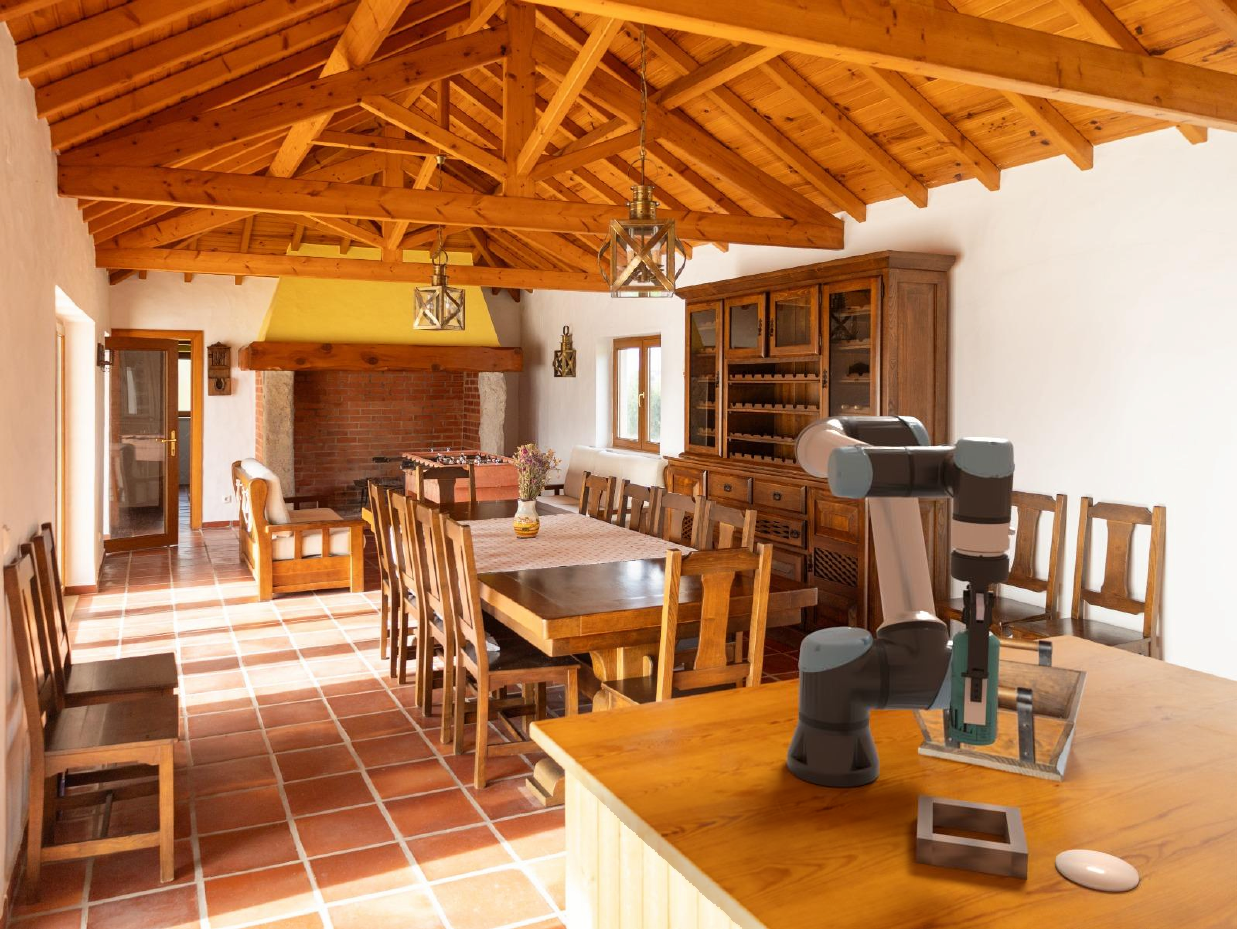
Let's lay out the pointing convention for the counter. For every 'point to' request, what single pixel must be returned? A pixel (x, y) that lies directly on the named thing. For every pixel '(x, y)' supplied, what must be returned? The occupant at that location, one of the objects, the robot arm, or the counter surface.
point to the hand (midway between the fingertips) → (973, 713)
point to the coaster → (1097, 870)
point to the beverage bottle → (958, 728)
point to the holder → (971, 851)
